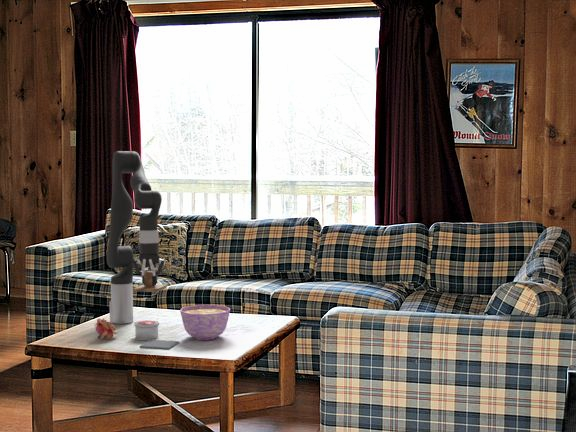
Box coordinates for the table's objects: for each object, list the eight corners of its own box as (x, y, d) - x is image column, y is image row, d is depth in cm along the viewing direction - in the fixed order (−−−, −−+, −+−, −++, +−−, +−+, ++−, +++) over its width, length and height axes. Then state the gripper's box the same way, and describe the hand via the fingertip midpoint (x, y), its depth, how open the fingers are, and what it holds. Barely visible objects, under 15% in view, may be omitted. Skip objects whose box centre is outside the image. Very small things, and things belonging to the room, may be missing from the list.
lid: (133, 291, 327) (132, 273, 326) (143, 287, 336) (142, 269, 336) (157, 292, 324) (156, 273, 324) (166, 288, 334) (166, 270, 333)
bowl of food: (174, 334, 341) (174, 306, 340) (221, 330, 349) (220, 303, 348) (188, 345, 322) (188, 316, 321) (237, 340, 330) (237, 311, 329)
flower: (92, 338, 328) (104, 321, 328) (86, 328, 335) (98, 312, 336) (111, 348, 333) (123, 332, 333) (105, 339, 340) (117, 323, 341)
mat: (139, 347, 319) (139, 346, 319) (150, 341, 330) (150, 339, 330) (169, 349, 316) (169, 347, 316) (179, 342, 327) (179, 341, 327)
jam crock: (130, 339, 332) (130, 324, 332) (140, 334, 342) (140, 319, 341) (153, 340, 330) (153, 325, 330) (162, 335, 340) (162, 320, 339)
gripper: (128, 242, 327) (129, 286, 328) (162, 242, 324) (163, 287, 325) (136, 240, 334) (137, 283, 335) (169, 240, 331) (170, 284, 332)
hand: (150, 284), depth 330 cm, fingers closed on lid, 3 cm apart
